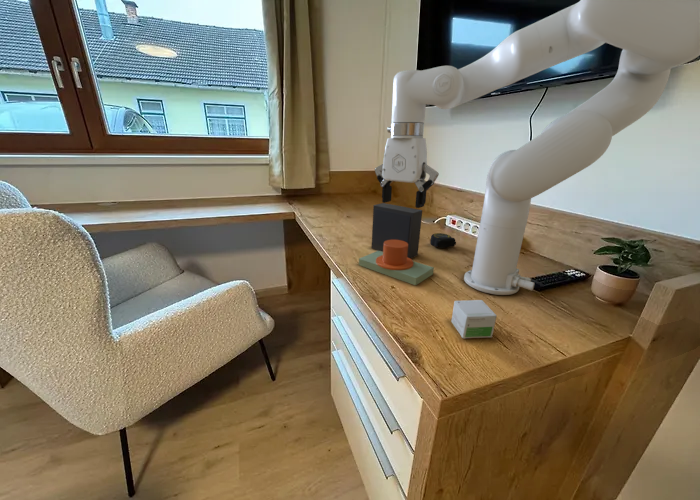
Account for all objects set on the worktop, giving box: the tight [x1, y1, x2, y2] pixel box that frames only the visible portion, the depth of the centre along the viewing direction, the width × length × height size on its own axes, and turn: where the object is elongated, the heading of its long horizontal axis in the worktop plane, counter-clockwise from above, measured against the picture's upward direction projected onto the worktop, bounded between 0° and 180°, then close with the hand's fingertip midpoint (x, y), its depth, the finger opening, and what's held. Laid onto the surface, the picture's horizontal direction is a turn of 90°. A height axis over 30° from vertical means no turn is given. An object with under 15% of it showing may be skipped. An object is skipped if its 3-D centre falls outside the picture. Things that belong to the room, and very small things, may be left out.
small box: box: [450, 299, 497, 340], centre depth 57 cm, size 6×6×5 cm
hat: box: [376, 240, 414, 270], centre depth 82 cm, size 10×10×6 cm
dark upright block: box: [370, 202, 423, 260], centre depth 94 cm, size 14×5×14 cm, turn 49°
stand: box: [358, 250, 435, 286], centre depth 83 cm, size 18×9×2 cm, turn 49°
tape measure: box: [429, 232, 457, 249], centre depth 102 cm, size 7×7×4 cm
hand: (402, 204), depth 78 cm, fingers open, 9 cm apart
